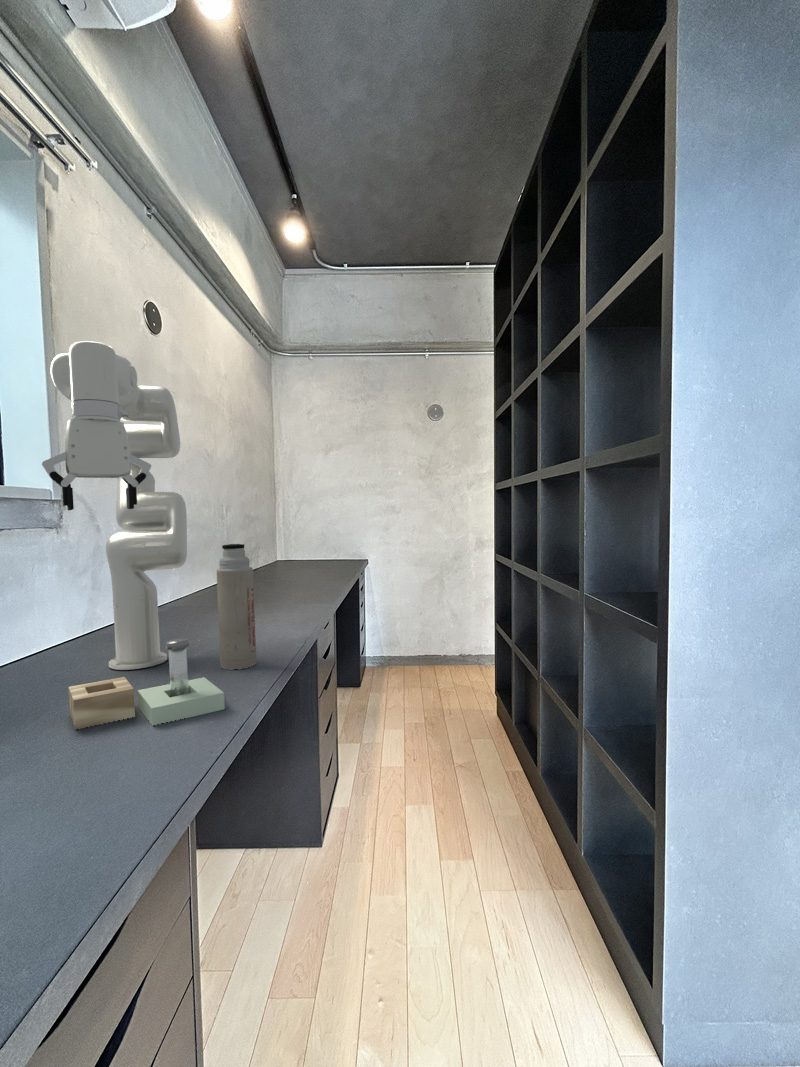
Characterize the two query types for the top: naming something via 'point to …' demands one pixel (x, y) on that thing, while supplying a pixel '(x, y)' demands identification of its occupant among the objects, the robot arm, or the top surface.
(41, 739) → the top surface
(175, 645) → the pin
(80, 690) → the frame
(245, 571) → the thermos bottle
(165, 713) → the dock
